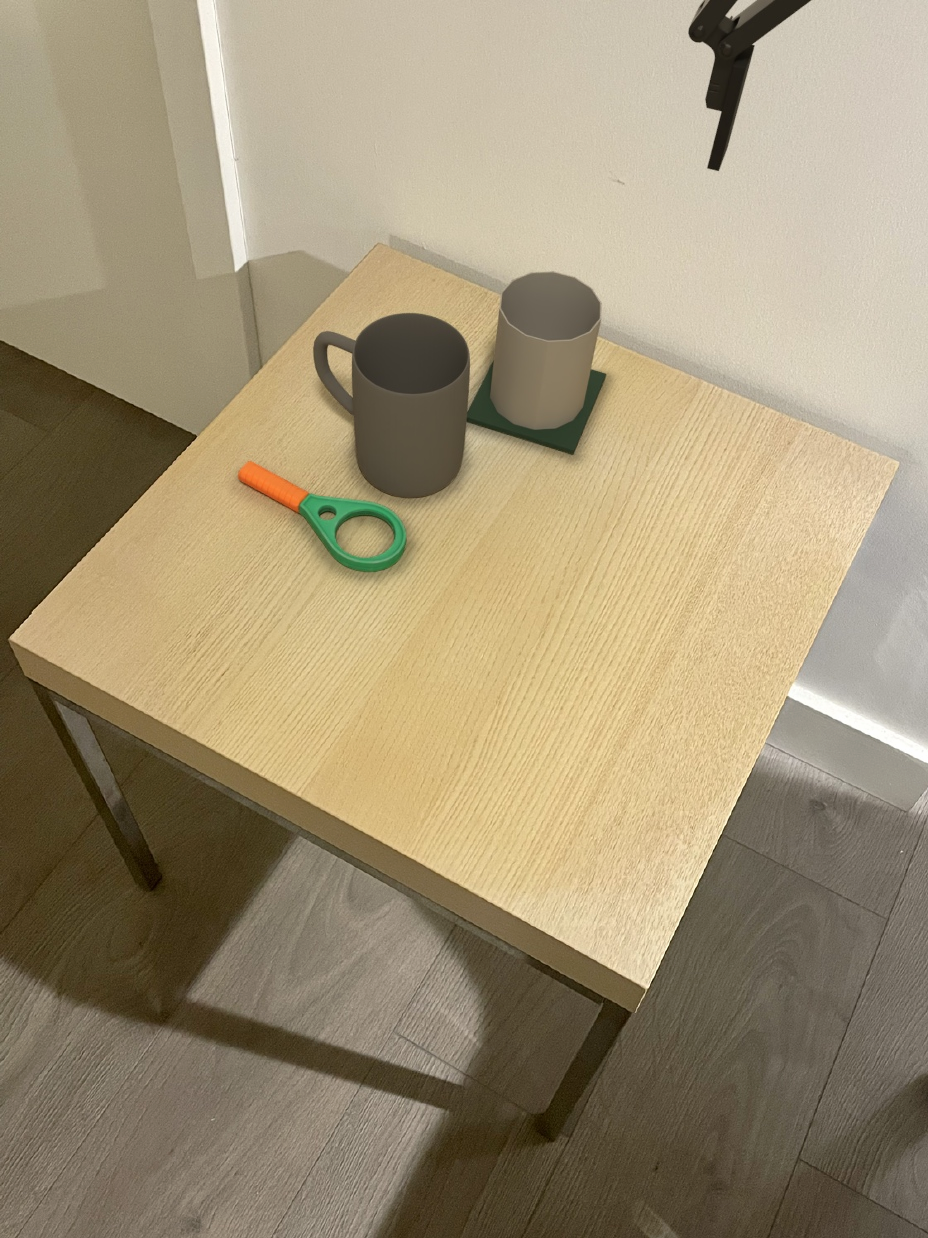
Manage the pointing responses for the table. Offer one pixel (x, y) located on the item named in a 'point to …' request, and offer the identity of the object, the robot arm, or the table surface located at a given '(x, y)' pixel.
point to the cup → (544, 349)
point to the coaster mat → (557, 438)
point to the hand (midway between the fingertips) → (824, 184)
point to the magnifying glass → (326, 529)
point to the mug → (404, 400)
